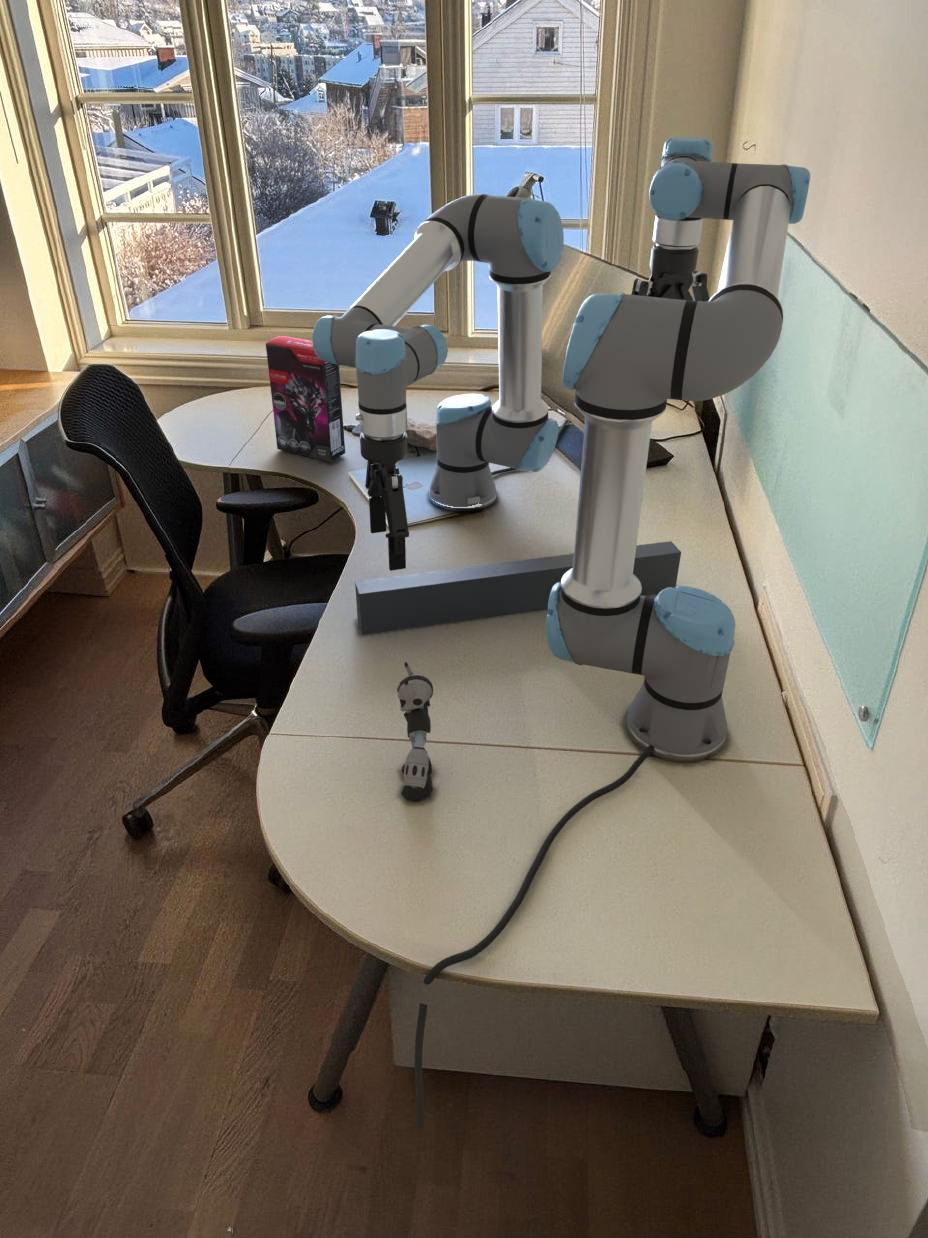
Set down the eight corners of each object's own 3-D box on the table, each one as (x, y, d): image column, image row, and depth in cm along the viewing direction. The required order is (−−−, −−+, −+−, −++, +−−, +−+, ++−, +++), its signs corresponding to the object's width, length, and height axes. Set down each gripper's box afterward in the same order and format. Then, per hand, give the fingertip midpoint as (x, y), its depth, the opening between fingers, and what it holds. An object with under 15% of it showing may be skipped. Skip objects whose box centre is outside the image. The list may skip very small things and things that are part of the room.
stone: (352, 434, 231) (356, 410, 229) (373, 426, 244) (377, 403, 242) (430, 458, 227) (435, 434, 225) (447, 448, 241) (452, 426, 238)
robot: (436, 831, 125) (434, 718, 114) (400, 833, 125) (395, 719, 114) (432, 736, 141) (431, 628, 130) (401, 737, 141) (396, 629, 130)
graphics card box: (274, 450, 230) (262, 341, 215) (291, 440, 235) (280, 333, 220) (331, 464, 224) (323, 352, 209) (347, 453, 229) (340, 344, 214)
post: (665, 579, 181) (671, 540, 176) (675, 590, 177) (681, 552, 172) (357, 621, 168) (355, 581, 163) (361, 634, 164) (359, 594, 159)
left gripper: (344, 407, 155) (350, 520, 167) (378, 465, 135) (383, 589, 147) (387, 403, 157) (391, 514, 169) (427, 460, 137) (428, 582, 149)
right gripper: (717, 234, 157) (699, 357, 169) (599, 247, 147) (587, 378, 158) (749, 242, 152) (727, 369, 163) (628, 256, 141) (614, 391, 153)
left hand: (387, 549), depth 158 cm, fingers open, 13 cm apart
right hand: (658, 373), depth 161 cm, fingers open, 13 cm apart
